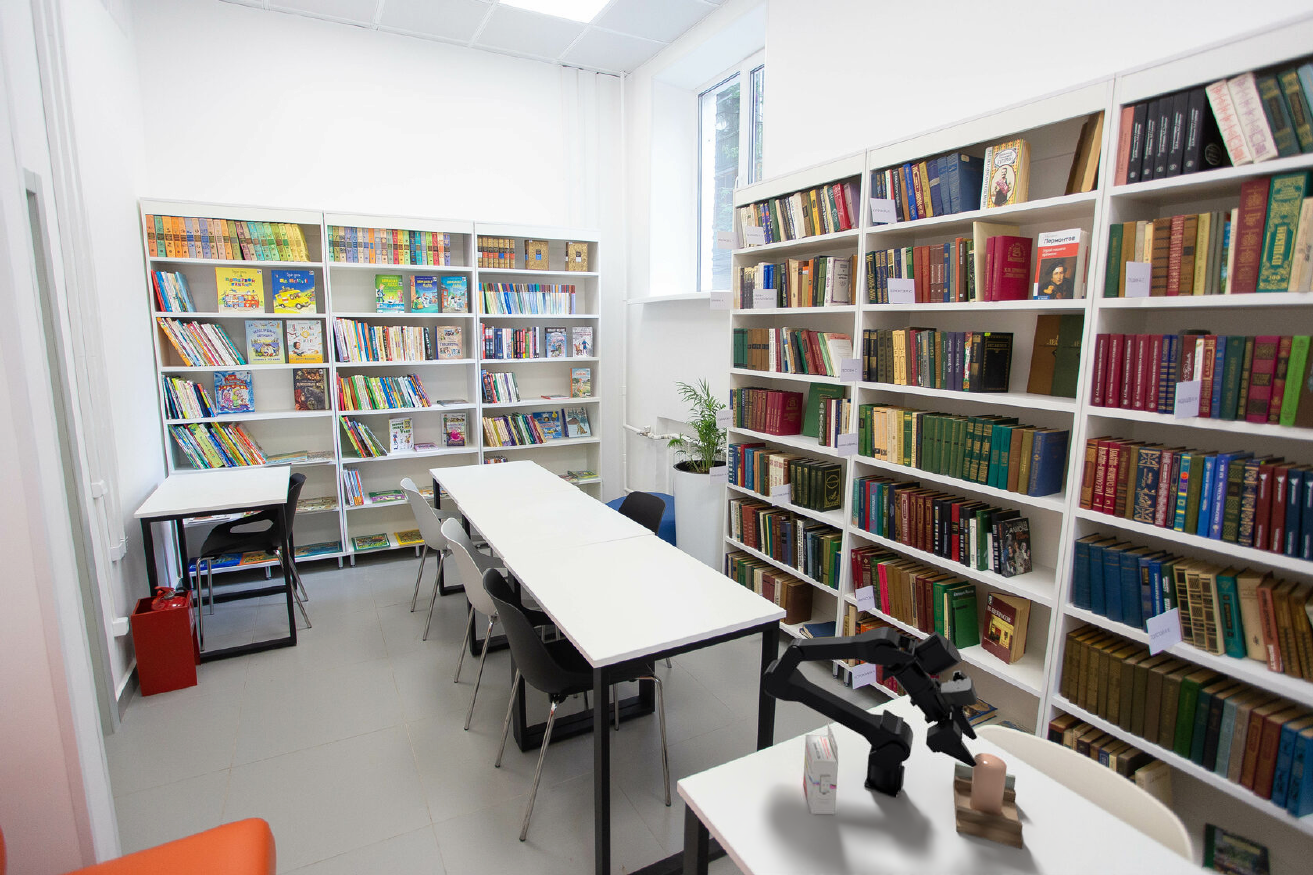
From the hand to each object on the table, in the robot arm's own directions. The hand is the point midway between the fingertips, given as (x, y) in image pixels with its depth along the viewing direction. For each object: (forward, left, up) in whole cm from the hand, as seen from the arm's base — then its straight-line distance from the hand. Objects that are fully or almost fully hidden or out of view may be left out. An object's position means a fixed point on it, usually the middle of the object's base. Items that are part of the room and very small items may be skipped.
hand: (975, 751), depth 127 cm
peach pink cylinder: (+3, 0, -11) cm, 12 cm away
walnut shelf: (+3, 0, -13) cm, 13 cm away
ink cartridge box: (-26, -14, -13) cm, 32 cm away
